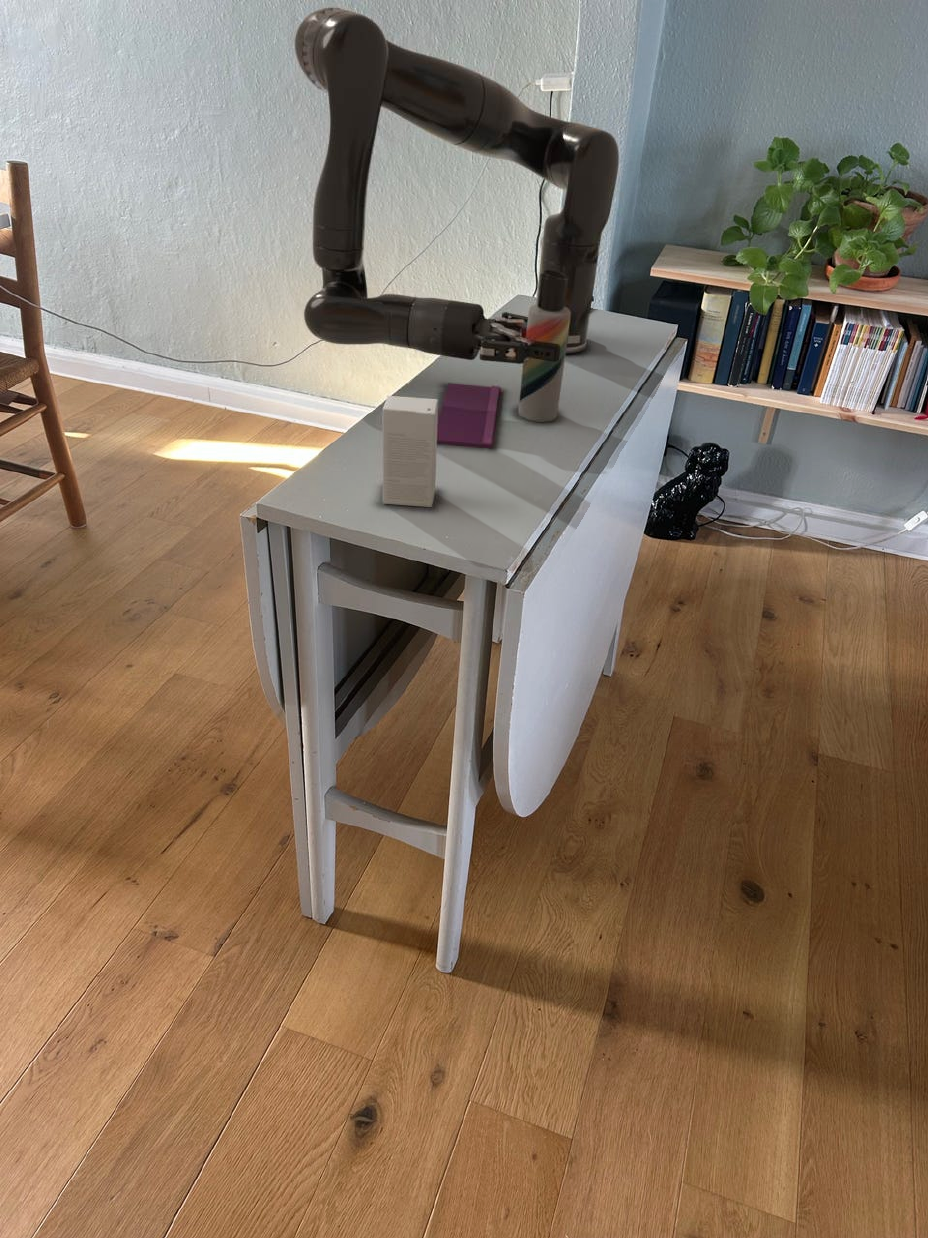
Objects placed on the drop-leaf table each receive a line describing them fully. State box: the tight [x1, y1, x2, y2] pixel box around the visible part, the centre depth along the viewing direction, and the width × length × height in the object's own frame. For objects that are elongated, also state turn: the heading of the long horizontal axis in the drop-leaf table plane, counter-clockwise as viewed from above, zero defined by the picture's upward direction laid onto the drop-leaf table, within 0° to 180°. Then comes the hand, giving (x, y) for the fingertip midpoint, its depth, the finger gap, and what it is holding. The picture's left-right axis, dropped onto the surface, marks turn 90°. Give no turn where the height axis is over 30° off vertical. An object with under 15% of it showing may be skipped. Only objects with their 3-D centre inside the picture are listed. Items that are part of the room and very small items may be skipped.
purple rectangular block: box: [437, 382, 502, 449], centre depth 127 cm, size 20×8×1 cm, turn 175°
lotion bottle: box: [518, 270, 571, 423], centre depth 123 cm, size 6×6×20 cm
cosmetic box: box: [381, 395, 439, 508], centre depth 104 cm, size 6×4×12 cm
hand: (563, 345), depth 123 cm, fingers closed on lotion bottle, 5 cm apart
